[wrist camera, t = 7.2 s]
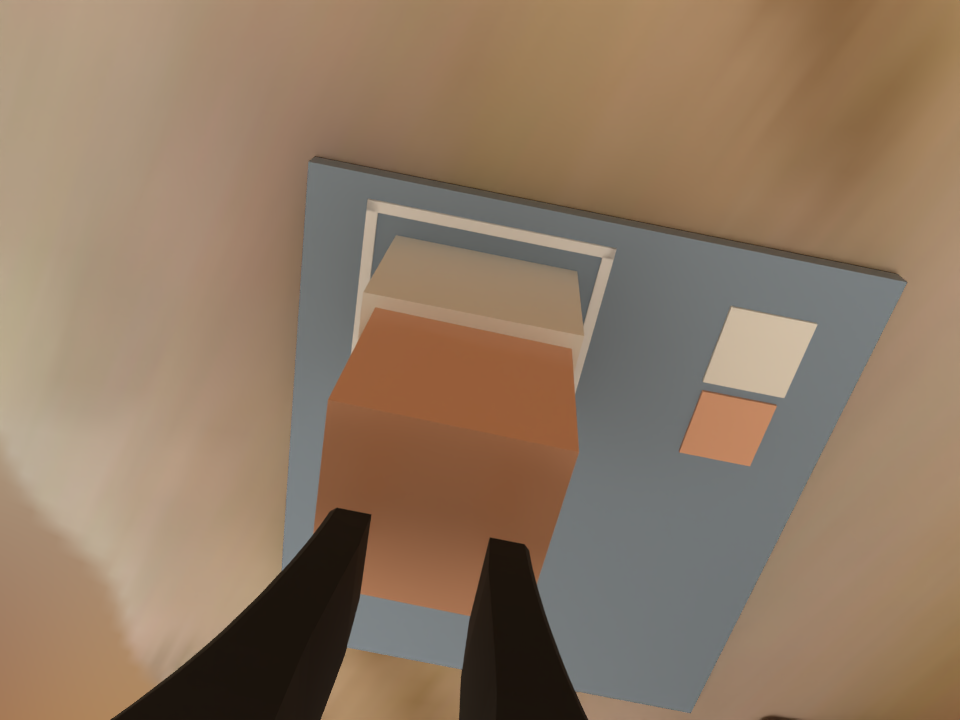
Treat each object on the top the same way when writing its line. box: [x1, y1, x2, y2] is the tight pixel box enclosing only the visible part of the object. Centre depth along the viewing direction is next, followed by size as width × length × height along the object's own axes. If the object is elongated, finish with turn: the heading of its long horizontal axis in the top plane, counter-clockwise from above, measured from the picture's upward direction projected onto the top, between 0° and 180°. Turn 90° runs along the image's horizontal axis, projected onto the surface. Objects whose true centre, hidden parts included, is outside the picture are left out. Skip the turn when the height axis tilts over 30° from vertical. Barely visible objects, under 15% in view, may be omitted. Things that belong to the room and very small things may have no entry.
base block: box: [358, 235, 584, 373], centre depth 19 cm, size 5×5×4 cm
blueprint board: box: [282, 157, 907, 713], centre depth 23 cm, size 16×18×1 cm
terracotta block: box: [313, 307, 579, 616], centre depth 15 cm, size 4×4×4 cm
